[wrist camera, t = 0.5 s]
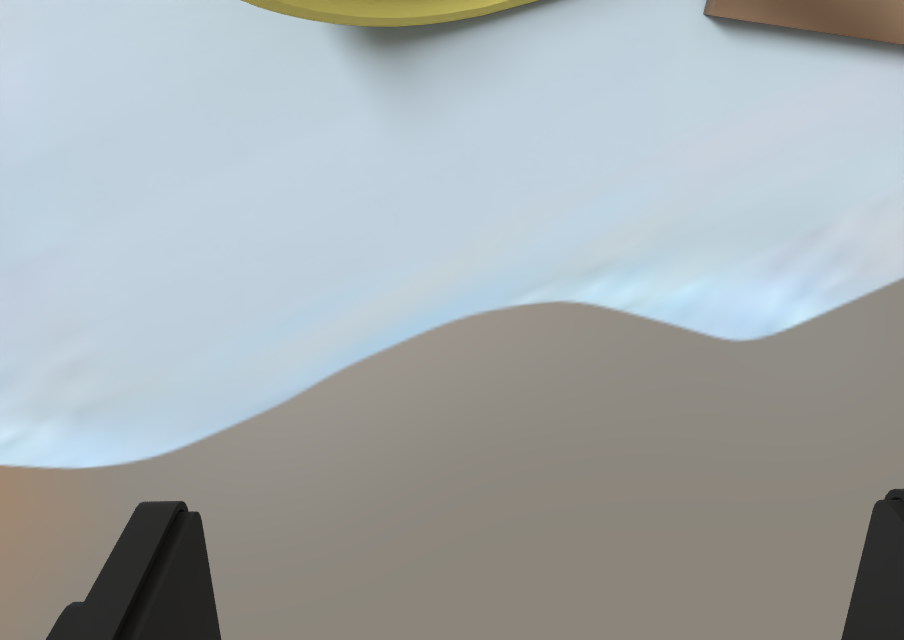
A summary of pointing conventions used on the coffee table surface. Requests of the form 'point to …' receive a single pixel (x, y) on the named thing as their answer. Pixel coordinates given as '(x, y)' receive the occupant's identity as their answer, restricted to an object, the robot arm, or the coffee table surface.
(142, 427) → the coffee table surface
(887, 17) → the pin tray
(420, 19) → the plastic component
